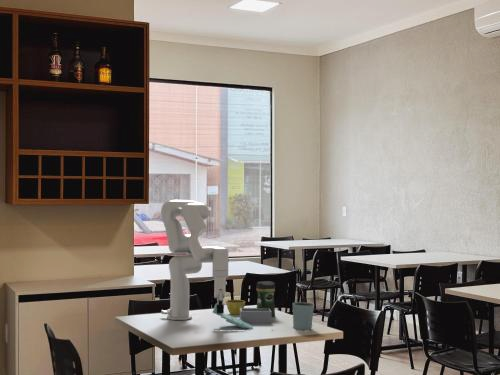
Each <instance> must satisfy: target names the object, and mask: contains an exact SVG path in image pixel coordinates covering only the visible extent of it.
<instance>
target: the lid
mask: <svg viewBox="0 0 500 375" xmlns="http://www.w3.org/2000/svg"><path fill="white" fill-rule="evenodd" d="M212 313H213V314H214V315H215V314H216V315H218V316H220V318H222V319H223V320H225V322H227V323H230V324H231V325H235V326H237V327H239V328H242V329H248V330H254V327H253V324H249V323H247V322H244V321H242V320H239V319H238V318H237V317H234V316H233V315H229V314H226V313H225V312H224V313H217V303H215V305H214V308H213V310H212Z"/></svg>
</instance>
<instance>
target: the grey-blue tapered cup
mask: <svg viewBox="0 0 500 375" xmlns="http://www.w3.org/2000/svg"><path fill="white" fill-rule="evenodd" d="M314 310H315V304H314V303H311V302H305V301H303V302H301V301H300V302H298V301H297V302H292V320H293V322H292V323H293V327H292V329H295V330H302V331H303V332H304V331H305V330H309V331H311V330H312V329H313V328H312V327H313V326H312V325H313V317H314ZM302 331H301V332H302ZM305 332H306V331H305Z"/></svg>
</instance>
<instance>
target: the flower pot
mask: <svg viewBox="0 0 500 375" xmlns="http://www.w3.org/2000/svg"><path fill="white" fill-rule="evenodd" d="M225 303H226V308H227V311H228V312H229V314H230V316H235V315H236V316H238V315H239V316H240V308H245V306H246V301H245V300H243V299H228V300H226V301H225Z"/></svg>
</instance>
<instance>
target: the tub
mask: <svg viewBox="0 0 500 375" xmlns="http://www.w3.org/2000/svg"><path fill="white" fill-rule="evenodd" d="M272 318H273V317H272V311H271V310H270V308H257V307H244V308H240V315H239V320H242V321H244V322H247V323H249V324H251V325H254V324H255V325H258V324H259V325H262V324H263V325H265V324H266V325H270V324H271V325H272Z"/></svg>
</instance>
